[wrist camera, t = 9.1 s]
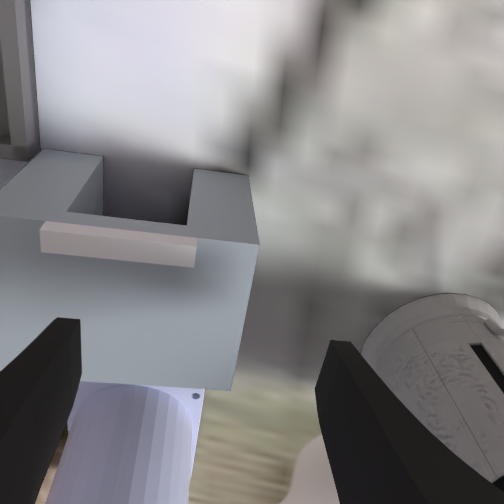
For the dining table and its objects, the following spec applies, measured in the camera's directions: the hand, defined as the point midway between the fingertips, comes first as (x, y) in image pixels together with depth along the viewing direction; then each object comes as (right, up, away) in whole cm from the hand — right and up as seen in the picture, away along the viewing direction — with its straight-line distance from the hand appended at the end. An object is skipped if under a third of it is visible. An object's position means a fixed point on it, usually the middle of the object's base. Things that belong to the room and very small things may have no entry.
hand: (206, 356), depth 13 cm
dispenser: (-4, +4, +9) cm, 10 cm away
